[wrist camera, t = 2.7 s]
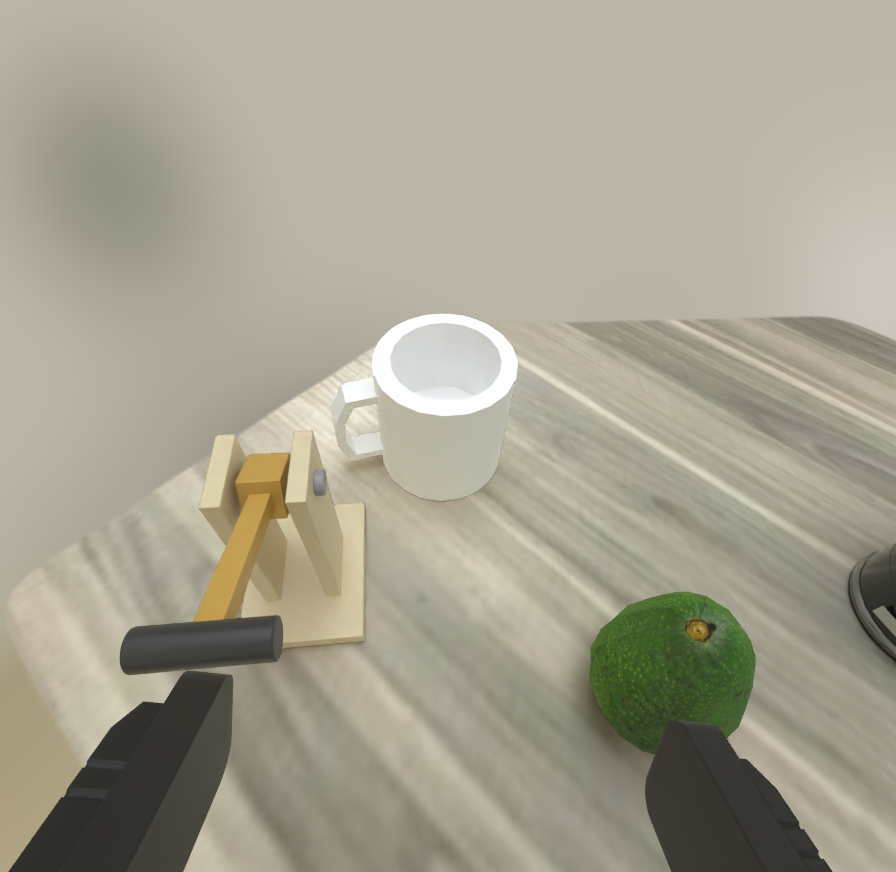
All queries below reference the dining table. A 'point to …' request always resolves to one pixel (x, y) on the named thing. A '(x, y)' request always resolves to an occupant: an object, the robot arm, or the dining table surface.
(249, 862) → the dining table surface
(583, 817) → the dining table surface
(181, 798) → the robot arm
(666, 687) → the avocado
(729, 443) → the dining table surface
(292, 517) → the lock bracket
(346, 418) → the mug
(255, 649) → the lever
